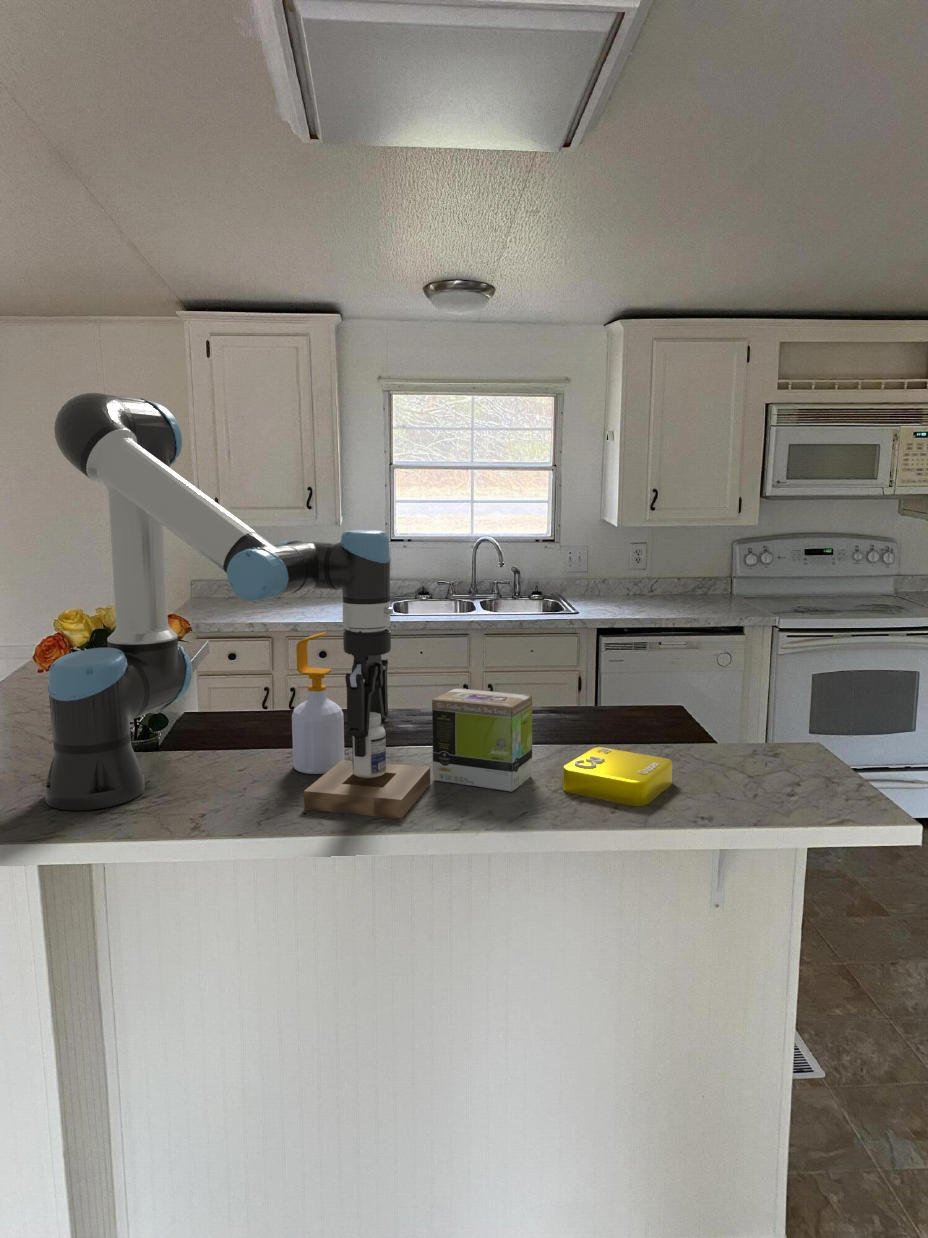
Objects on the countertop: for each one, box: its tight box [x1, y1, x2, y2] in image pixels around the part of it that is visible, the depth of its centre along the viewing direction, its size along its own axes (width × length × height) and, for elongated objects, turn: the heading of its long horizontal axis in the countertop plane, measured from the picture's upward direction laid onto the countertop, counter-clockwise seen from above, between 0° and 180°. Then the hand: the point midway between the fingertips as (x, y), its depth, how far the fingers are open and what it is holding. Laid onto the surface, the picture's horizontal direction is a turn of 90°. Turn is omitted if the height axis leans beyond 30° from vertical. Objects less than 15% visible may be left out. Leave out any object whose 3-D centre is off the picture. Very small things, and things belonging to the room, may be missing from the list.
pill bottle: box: [351, 712, 387, 778], centre depth 143 cm, size 5×5×10 cm
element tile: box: [561, 746, 673, 807], centre depth 149 cm, size 15×15×5 cm
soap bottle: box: [291, 631, 345, 775], centre depth 157 cm, size 9×9×25 cm
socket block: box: [303, 759, 431, 819], centre depth 144 cm, size 16×16×3 cm
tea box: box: [431, 687, 533, 793], centre depth 152 cm, size 15×10×15 cm, turn 65°
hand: (369, 768), depth 143 cm, fingers closed on pill bottle, 5 cm apart
